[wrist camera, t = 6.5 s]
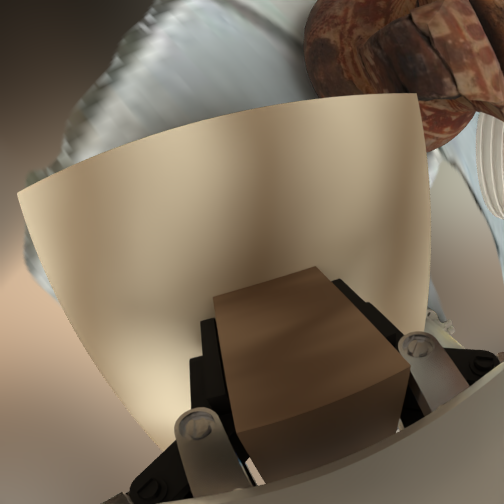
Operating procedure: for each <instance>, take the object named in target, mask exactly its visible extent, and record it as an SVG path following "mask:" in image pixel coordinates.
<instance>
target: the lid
mask: <svg viewBox="0 0 504 504" xmlns="http://www.w3.org/2000/svg"><path fill="white" fill-rule="evenodd" d="M17 196H18V199H19V202H20V206H21V209H22V212H23V215H24V218H25V221H26V224H27V227H28V230H29V233H30V236H31V238H32V241H33V244H34V246H35V249H36V251H37V254H38V256H39V259H40V261H41V263H42V266H43V268H44V270H45V273H46V275H47V277H48V279H49V282H50V284H51V286H52V288H53V290H54V292H55V294H56V296H57V298H58V300H59V302H60V304H61V306H62V308H63V310H64V312H65V314H66V316H67V318H68V320H69V321H70V323H71V325H72V327H73V329H74V331H75V332H76V334H77V336H78V337H79V339H80V341H81V342H82V344H83V346H84V347H85V349H86V351H87V352H88V354H89V356H90V357H91V359H92V360H93V362H94V363H95V365H96V367H97V368H98V370H99V371H100V373H101V374H102V376H103V377H104V378H105V380H106V381H107V383H108V384H109V386H110V387H111V388H112V390H113V391H114V393H115V394H116V395H117V397H118V398H119V399H120V401H121V402H122V403H123V405H124V406H125V407H126V409H127V410H128V411H129V413H130V414H131V415H132V416H133V418H134V419H135V420H136V421H137V422H138V424H139V425H140V426H141V427H142V428H143V430H144V431H145V432H146V433H147V434H148V435H149V437H150V438H151V439H152V440H153V441H154V442H155V444H156V445H157V446H158V447H159V448H160V449H161V450H162V451H163V452H164V451H165V450H166V449H167V448H168V447H169V446H170V445H171V444H172V443H173V442H174V441H175V440H176V438H175V434H174V425H175V422H176V421H177V419H178V418H179V416H181V415H182V414H183V413H184V412H186V411H188V410H190V409H191V396H190V370H189V360H190V358H194V357H198V356H202V342H201V328H200V321H203V320H206V319H210V318H213V317H214V318H215V320H216V323H217V329H218V335H219V342H220V348H221V354H222V360H223V365H224V371H225V377H226V382H227V388H228V393H229V399H230V404H231V409H232V414H233V419H234V424H235V429H236V433H237V435H238V437H239V439H240V441H241V443H242V444H243V446H244V448H245V450H246V451H247V453H248V455H249V457H250V458H251V460H252V462H253V463H254V465H255V467H256V468H257V470H258V472H259V473H260V475H261V477H262V478H263V480H264V482H265V483H266V484H267V483H271V482H275V481H279V480H282V479H285V478H289V477H292V476H295V475H298V474H301V473H305V472H307V471H310V470H313V469H316V468H319V467H322V466H324V465H327V464H330V463H332V462H335V461H337V460H340V459H342V458H345V457H347V456H349V455H352V454H354V453H356V452H359V451H361V450H363V449H365V448H367V447H370V446H372V445H374V444H376V443H378V442H380V441H382V440H384V439H386V438H388V437H390V436H392V435H394V434H395V433H396V430H397V427H398V423H399V419H400V415H401V411H402V407H403V403H404V398H405V394H406V389H407V384H408V379H409V374H410V369H411V365H410V364H409V363H408V362H407V361H406V360H405V359H404V358H403V356H402V355H401V354H400V353H399V352H398V351H397V350H396V349H395V348H394V347H393V346H392V345H391V343H390V342H389V341H388V340H387V339H386V338H385V337H384V336H383V335H382V334H381V333H380V332H379V331H378V330H377V329H376V328H375V326H374V325H373V324H372V323H371V322H370V321H369V320H368V319H367V318H366V317H365V316H364V315H363V314H362V313H361V312H360V311H359V310H358V309H357V308H356V307H355V306H354V304H353V303H352V302H351V301H350V300H349V299H348V298H347V297H346V296H345V295H344V294H343V293H342V292H341V291H340V290H339V289H338V288H337V287H336V286H335V285H334V284H333V283H332V282H331V281H333V280H336V279H339V278H340V279H342V280H343V281H344V282H345V283H346V284H347V285H348V286H349V287H350V288H351V289H352V290H353V291H354V292H355V293H356V294H357V295H358V296H359V297H360V298H362V299H363V300H364V301H365V302H370V303H371V304H372V305H374V306H375V307H376V308H377V309H378V310H379V311H380V312H381V313H382V314H383V315H384V316H385V317H386V318H387V319H388V320H389V321H390V322H391V323H392V324H393V325H394V326H395V327H397V328H398V329H399V330H400V331H401V332H402V333H403V334H404V335H406V334H408V333H410V332H415V331H423V332H424V328H425V320H426V312H427V303H428V292H429V279H430V258H431V206H430V187H429V174H428V163H427V154H426V146H425V138H424V131H423V125H422V119H421V113H420V108H419V103H418V98H417V93H392V94H367V95H351V96H339V97H329V98H320V99H312V100H304V101H297V102H290V103H283V104H277V105H271V106H266V107H260V108H255V109H250V110H245V111H240V112H236V113H231V114H227V115H222V116H218V117H214V118H210V119H206V120H202V121H198V122H194V123H191V124H187V125H184V126H180V127H177V128H173V129H170V130H167V131H163V132H160V133H157V134H154V135H151V136H148V137H145V138H142V139H139V140H136V141H133V142H130V143H127V144H125V145H122V146H119V147H116V148H114V149H111V150H109V151H106V152H104V153H101V154H98V155H96V156H94V157H91V158H89V159H86V160H84V161H82V162H79V163H77V164H75V165H73V166H70V167H68V168H66V169H64V170H62V171H59V172H57V173H55V174H53V175H51V176H49V177H47V178H45V179H43V180H41V181H39V182H37V183H35V184H33V185H31V186H29V187H27V188H25V189H24V190H22V191H20V192H18V193H17Z"/></svg>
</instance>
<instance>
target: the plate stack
mask: <svg viewBox="0 0 504 504" xmlns="http://www.w3.org/2000/svg"><path fill="white" fill-rule="evenodd" d="M476 164H477V173H478V180H479V185H480V189H481V193H482V196H483V199H484V202H485V204H486V206H487V208H488V209H489V211H490V212H491V213H492V214H493V215H494V216H496V217H498V218H500V219H504V122H503V121H501V120H499V119H497V118H495V117H493V116H491V115H488V114H485V113H482V112H480V113H479V117H478V123H477V132H476Z"/></svg>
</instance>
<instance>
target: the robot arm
mask: <svg viewBox="0 0 504 504" xmlns="http://www.w3.org/2000/svg"><path fill="white" fill-rule="evenodd" d="M331 282H332V283H333V284H334V285H335V286H336V287H337V288H338V289H339V290H340V291H341V292H342V293H343V294H344V295H345V296H346V297H347V298H348V299H349V300H350V301H351V302H352V303H353V304H354V306H355V307H356V308H357V309H358V310H359V311H360V312H361V313H362V314H363V315H364V316H365V317H366V318H367V319H368V320H369V321H370V322H371V323H372V324H373V325H374V326H375V328H376V329H377V330H378V331H379V332H380V333H381V334H382V335H383V336H384V337H385V338H386V339H387V340H388V341H389V342H390V343H391V345H392V346H393V347H394V348H395V349H396V350H397V351H398V352H399V353H400V354H401V355H402V356H403V358H404V359H405V360H406V361H407V362H408V363H409V364H410V365H411V369H410V374H409V379H408V384H407V389H406V394H405V398H404V403H403V407H402V411H401V415H400V419H399V423H398V427H399V430H400V432H397V433H395V434H394V435H392V436H390V437H388V438H386V439H384V440H382V441H380V442H378V443H376V444H374V445H372V446H370V447H367V448H365V449H363V450H361V451H359V452H356V453H354V454H352V455H349V456H347V457H345V458H342V459H340V460H337V461H335V462H332V463H330V464H327V465H324V466H322V467H319V468H316V469H313V470H310V471H307V472H305V473H301V474H298V475H295V476H292V477H289V478H285V479H282V480H279V481H275V482H271V483H267V484H264V485H260V486H258V485H257V483H256V481H255V480H254V478H253V476H252V474H251V472H250V470H249V468H248V466H247V464H246V461H247V459H248V458H249V455H248V453H247V451H246V450H245V448H244V446H243V444H242V443H241V441H240V439H239V437H238V435H237V433H236V429H235V424H234V419H233V414H232V409H231V404H230V399H229V393H228V388H227V382H226V377H225V371H224V365H223V360H222V354H221V348H220V342H219V335H218V329H217V323H216V320H215V318H214V317H213V318H210V319H206V320H203V321H200V328H201V342H202V356H198V357H194V358H190V360H189V370H190V396H191V409H190V410H188V411H186V412H184V413H183V414H182V415H181V416H179V418H178V419H177V421H176V422H175V425H174V434H175V438H176V440H175V441H174V442H173V443H172V444H171V445H170V446H169V447H168V448H167V449H166V450H165V451H164V452H163V453H162V454H161V455H160V456H159V457H158V458H157V459H155V460H154V461H153V462H152V463H151V464H150V465H149V466H148V467H147V468H146V469H145V470H144V471H143V472H142V473H141V474H140V475H138V476H137V477H136V478H135V480H134V481H133V482H132V484H131V487H130V491H129V492H127V493H123V492H121V493H119V494H117V495H115V496H114V497H112V498H110V499H108V500H107V501H105V502H103V503H101V504H504V352H501V353H498V354H497V356H495V355H494V354H493V353H491V352H489V351H484V350H470V349H465V348H464V347H463V346H462V345H460V344H459V343H458V342H457V341H456V340H455V339H454V338H453V337H451V336H450V335H452V334H454V333H455V328H454V326H453V325H452V320H451V319H449V320H447V321H445V322H444V323H441V322H440V321H439V319H438V316H437V314H436V313H435V312H434V311H433V310H431V309H429V308H427V312H426V320H425V328H424V332H423V331H415V332H410V333H408V334H406V335H404V334H403V333H402V332H401V331H400V330H399V329H398V328H397V327H395V326H394V325H393V324H392V323H391V322H390V321H389V320H388V319H387V318H386V317H385V316H384V315H383V314H382V313H381V312H380V311H379V310H378V309H377V308H376V307H375V306H374V305H372V304H371V303H370V302H365V301H364V300H363V299H362V298H360V297H359V296H358V295H357V294H356V293H355V292H354V291H353V290H352V289H351V288H350V287H349V286H348V285H347V284H346V283H345V282H344V281H343V280H342V279H340V278H339V279H336V280H333V281H331Z"/></svg>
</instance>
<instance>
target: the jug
mask: <svg viewBox="0 0 504 504" xmlns="http://www.w3.org/2000/svg"><path fill="white" fill-rule="evenodd" d="M303 49H304V57H305V63H306V68H307V72H308V75H309V78H310V80H311V83H312V85H313V87H314V89H315V91H316V93H317V95H318V96H319V98H329V97H339V96H351V95H367V94H392V93H417V98H418V103H419V108H420V113H421V119H422V125H423V131H424V138H425V146H426V152H430V151H432V150H434V149H437V148H439V147H441V146H443V145H445V144H446V143H448V142H449V141H450V140H452V139H453V138H454V137H455V136H457V135H458V134H459V133H460V132H461V131H462V130H463V129H464V128H465V127H466V126H467V124H468V123H469V122H470V120H471V119H472V118H473V116H474V114H475V112H476V111H477V112H482V113H485V114H488V115H491V116H493V117H495V118H497V119H499V120H501V121H503V122H504V0H318V1H317V2H316V3H315V5H314V6H313V8H312V10H311V12H310V14H309V17H308V20H307V23H306V26H305V32H304V44H303Z"/></svg>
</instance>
